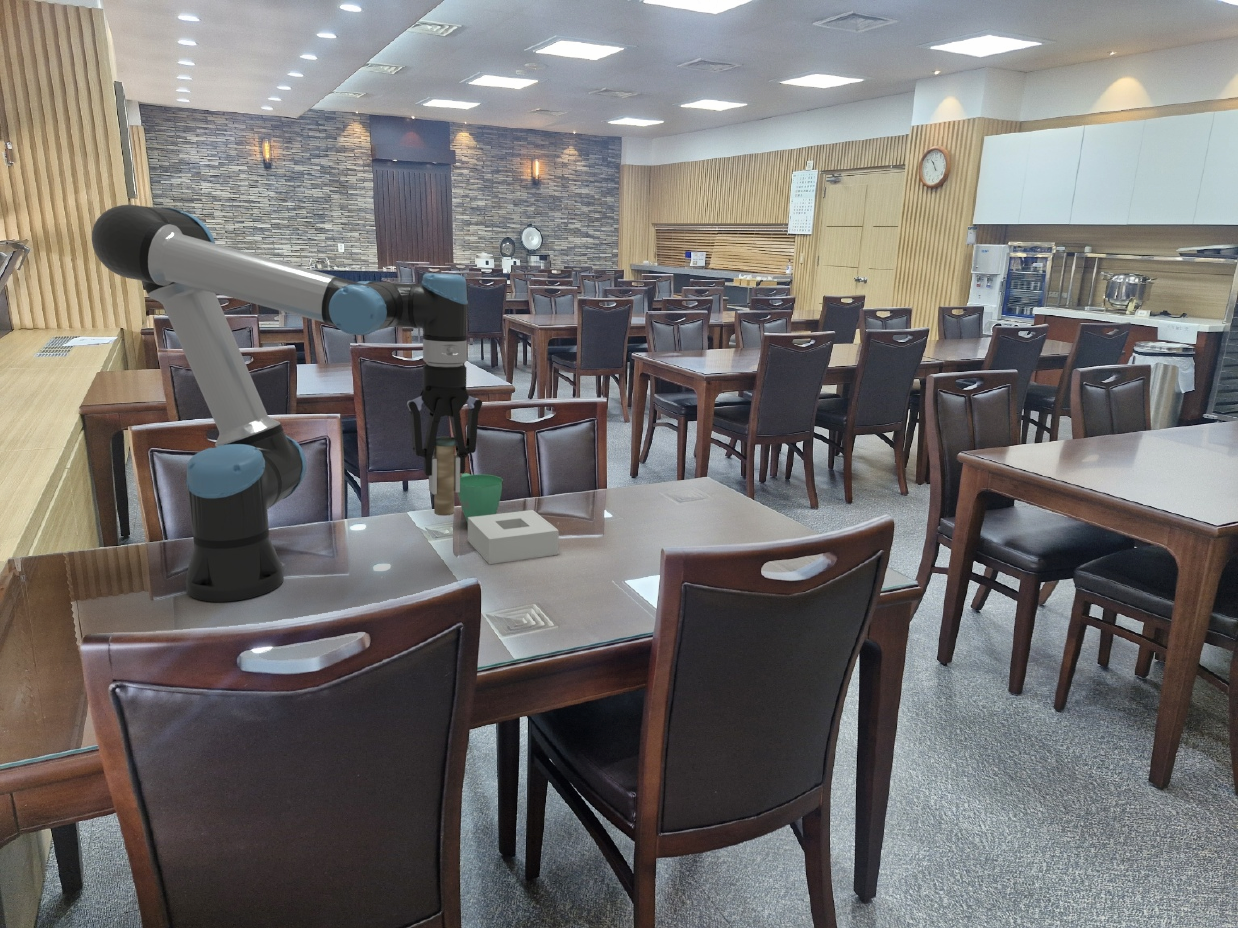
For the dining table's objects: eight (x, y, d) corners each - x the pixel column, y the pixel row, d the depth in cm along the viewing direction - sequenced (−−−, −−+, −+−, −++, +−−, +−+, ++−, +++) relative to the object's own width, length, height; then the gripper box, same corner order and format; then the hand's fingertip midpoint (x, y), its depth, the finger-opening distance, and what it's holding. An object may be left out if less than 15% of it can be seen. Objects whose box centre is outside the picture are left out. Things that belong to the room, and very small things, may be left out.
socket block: (489, 564, 153) (489, 539, 151) (467, 540, 165) (467, 517, 163) (558, 554, 159) (558, 530, 158) (532, 532, 171) (532, 509, 170)
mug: (510, 528, 173) (510, 483, 171) (467, 535, 168) (466, 489, 165) (483, 509, 185) (483, 467, 182) (442, 515, 180) (441, 472, 177)
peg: (437, 516, 147) (437, 441, 144) (431, 510, 150) (431, 436, 147) (456, 514, 149) (457, 440, 145) (451, 508, 152) (451, 435, 149)
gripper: (401, 367, 136) (403, 500, 142) (496, 366, 143) (494, 493, 149) (392, 361, 142) (394, 489, 148) (483, 360, 150) (482, 482, 156)
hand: (444, 490), depth 149 cm, fingers closed on peg, 3 cm apart
